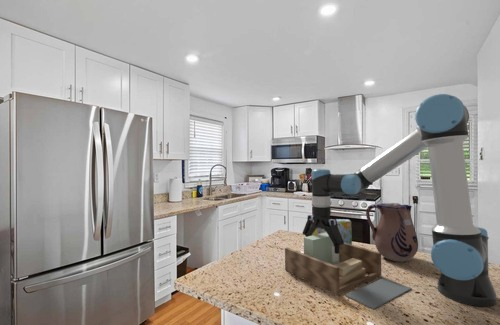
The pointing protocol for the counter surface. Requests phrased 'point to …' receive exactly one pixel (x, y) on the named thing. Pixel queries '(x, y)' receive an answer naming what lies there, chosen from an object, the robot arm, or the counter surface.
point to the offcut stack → (350, 271)
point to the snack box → (344, 229)
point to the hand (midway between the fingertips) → (322, 256)
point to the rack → (333, 267)
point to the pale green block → (319, 247)
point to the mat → (378, 293)
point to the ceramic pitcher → (394, 231)
